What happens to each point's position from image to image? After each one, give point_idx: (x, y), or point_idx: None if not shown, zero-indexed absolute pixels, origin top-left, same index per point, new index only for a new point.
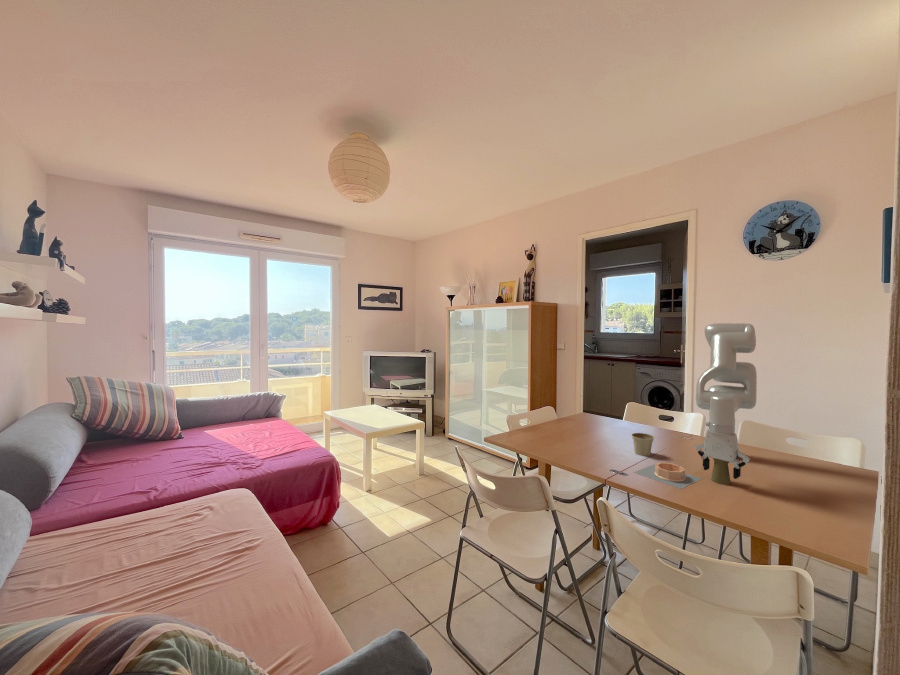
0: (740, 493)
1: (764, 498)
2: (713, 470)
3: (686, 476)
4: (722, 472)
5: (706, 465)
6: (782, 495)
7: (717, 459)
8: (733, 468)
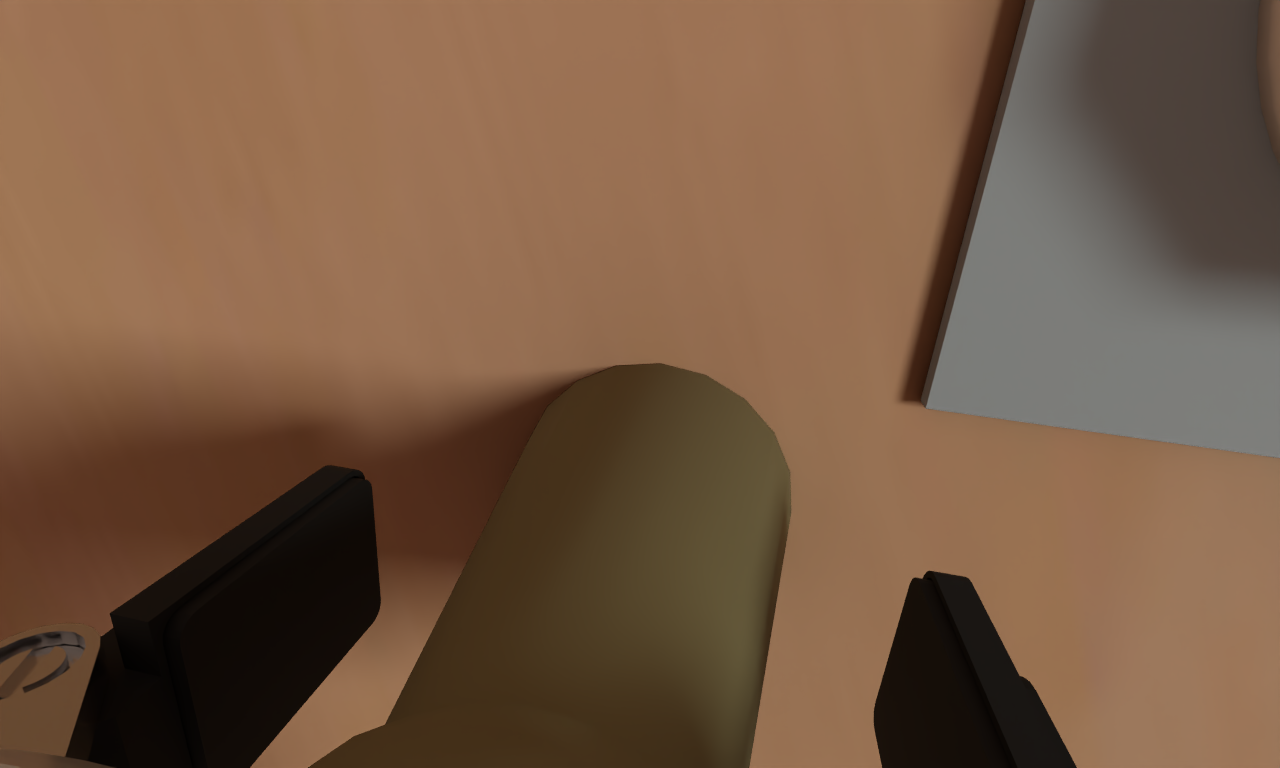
0: (316, 244)
1: (99, 312)
2: (739, 564)
3: (1248, 290)
4: (527, 517)
5: (938, 682)
6: (84, 563)
7: None
8: (190, 619)
